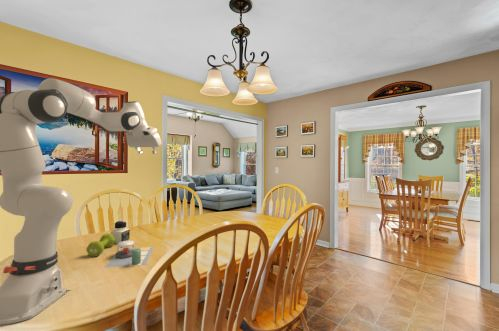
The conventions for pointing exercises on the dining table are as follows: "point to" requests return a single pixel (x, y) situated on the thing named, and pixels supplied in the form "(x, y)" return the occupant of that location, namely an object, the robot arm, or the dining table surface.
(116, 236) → the medicine bottle
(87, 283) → the dining table surface
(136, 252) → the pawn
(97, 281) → the dining table surface
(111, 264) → the game board
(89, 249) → the dumbbell
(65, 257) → the dining table surface
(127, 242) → the dome
